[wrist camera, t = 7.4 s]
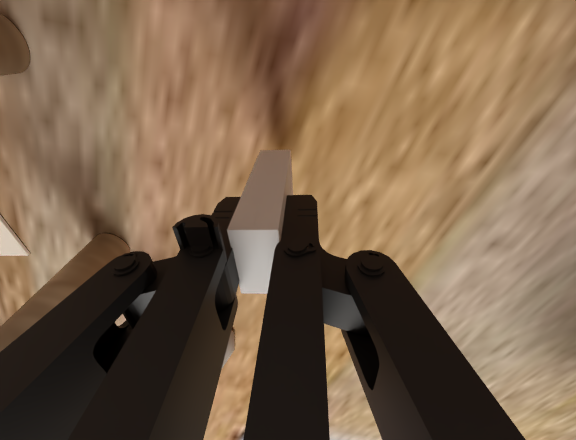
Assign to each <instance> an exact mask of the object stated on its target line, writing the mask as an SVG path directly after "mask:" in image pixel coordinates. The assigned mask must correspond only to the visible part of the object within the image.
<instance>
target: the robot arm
mask: <svg viewBox="0 0 576 440" xmlns="http://www.w3.org/2000/svg"><path fill="white" fill-rule="evenodd" d="M172 228H173V230H174V233H175V236H176V239H177V241H178V244H179V247H180V251H179V253H178V255H177V256H176V257H172V258H168V259H164V260H159V261H155V262H153V261H152V259H151V257H150V256H149V254H147V253H145V252H139V251H134V252H130V253H125V254H123V255H121V256H118V257H116V258H115V259H113V260H112V261H110V262H109V263H107V264H106V265H105V266H104V267H102V268H101V269H100V270H99V271H98V272H96V273H95V274H94V275H93V276H92V277H90V278H89V279H88V280H87V281H86V282H84V283H83V284H82V285H81V286H79V287H78V288H77V289H76V290H75V291H73V292H72V293H71V294H70V295H69V296H67V297H66V298H65V299H64V300H63V301H61V302H60V303H59V304H58V305H57V306H55V307H54V308H53V309H52V310H50V311H49V312H48V313H47V314H46V315H44V316H43V317H42V318H41V319H40V320H38V321H37V322H36V323H35V324H34V325H32V326H31V327H30V328H29V329H27V330H26V331H25V332H24V333H23V334H21V335H20V336H19V337H18V338H17V339H15V340H14V341H13V342H12V343H11V344H9V345H8V346H7V347H6V348H5V349H3V350H2V351H1V352H0V440H203V438H204V435H205V431H206V427H207V423H208V419H209V415H210V411H211V407H212V404H213V400H214V396H215V392H216V388H217V384H218V380H219V377H220V373H221V369H222V365H223V361H224V357H225V353H226V349H227V346H228V342H229V338H230V334H231V330H232V326H233V322H234V318H235V315H236V311H237V307H238V300H237V296H236V291H237V288H238V284H239V286H240V290H241V293H256V294H267V299H266V305H265V311H264V318H263V324H262V330H261V336H260V342H259V348H258V354H257V360H256V367H255V373H254V379H253V385H252V391H251V397H250V403H249V410H248V416H247V422H246V428H245V434H244V440H329V419H328V399H327V379H326V358H325V338H324V323H325V324H328V325H331V326H334V327H337V328H340V329H341V331H342V334H343V337H344V339H345V342H346V345H347V347H348V350H349V353H350V355H351V358H352V361H353V363H354V366H355V368H356V371H357V374H358V376H359V379H360V382H361V384H362V387H363V390H364V392H365V395H366V397H367V400H368V403H369V405H370V408H371V411H372V413H373V416H374V419H375V421H376V424H377V427H378V429H379V432H380V434H381V437H382V440H525V438H524V437H523V436H522V434H521V433H520V431H519V430H518V429H517V427H516V426H515V425H514V423H513V422H512V421H511V419H510V418H509V417H508V415H507V414H506V412H505V411H504V410H503V408H502V407H501V406H500V404H499V403H498V402H497V400H496V399H495V398H494V396H493V395H492V393H491V392H490V391H489V389H488V388H487V387H486V385H485V384H484V383H483V381H482V380H481V379H480V377H479V376H478V374H477V373H476V372H475V370H474V369H473V368H472V366H471V365H470V364H469V362H468V361H467V360H466V358H465V357H464V355H463V354H462V353H461V351H460V350H459V349H458V347H457V346H456V345H455V343H454V342H453V341H452V339H451V338H450V336H449V335H448V334H447V332H446V331H445V330H444V328H443V327H442V326H441V324H440V323H439V322H438V320H437V319H436V317H435V316H434V315H433V313H432V312H431V311H430V309H429V308H428V307H427V305H426V304H425V303H424V301H423V300H422V298H421V297H420V296H419V294H418V293H417V292H416V290H415V289H414V288H413V286H412V285H411V284H410V282H409V281H408V279H407V278H406V277H405V275H404V274H403V273H402V271H401V270H400V269H399V267H398V266H397V265H396V263H395V262H394V261H393V260H392V259H391V258H390V257H388V256H386V255H384V254H382V253H380V252H376V251H372V250H364V251H359V252H355V253H353V254H352V255H351V256H349V257H348V259H344V258H340V257H336V256H333V255H331V254H329V253H327V252H326V251H325V250H324V249H323V248H322V247H321V245H320V243H319V234H318V214H317V201H316V200H315V199H314V197H313V196H312V195H293V185H292V164H291V150H260V152H259V155H258V157H257V160H256V162H255V164H254V167H253V169H252V172H251V174H250V176H249V179H248V181H247V183H246V186H245V188H244V191H243V193H242V195H241V197H226V198H224V199H223V200H222V201H221V202H219V203H218V204H217V206H216V208H215V210H214V213H212V215H204V214H201V215H193V216H190V217H187V218H184V219H183V220H181V221H179V222H177V223H176V224H175V225H174V226H173V227H172ZM122 314H123V315H124V317H125V318H126V321H125V322H124V323H123V324H121V325H120V326H117V325H116V324H115V321H116V320H117V319H118V318H119V317H120V316H121V315H122Z"/></svg>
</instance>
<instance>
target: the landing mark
mask: <svg viewBox="0 0 576 440" xmlns="http://www.w3.org/2000/svg"><path fill="white" fill-rule="evenodd" d="M30 254H31V253H30V252H29V251H28V250H27V248H26V247H25V246H24V245H23V243H22V242H21V241H20V239H19V238H18V237H17V236H16V234H15V233H14V232H13V230H12V229H11V228H10V227H9V225H8V224H7V223H6V221H5V220H4V219H3V218H2V216H1V215H0V256H29V255H30Z"/></svg>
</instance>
